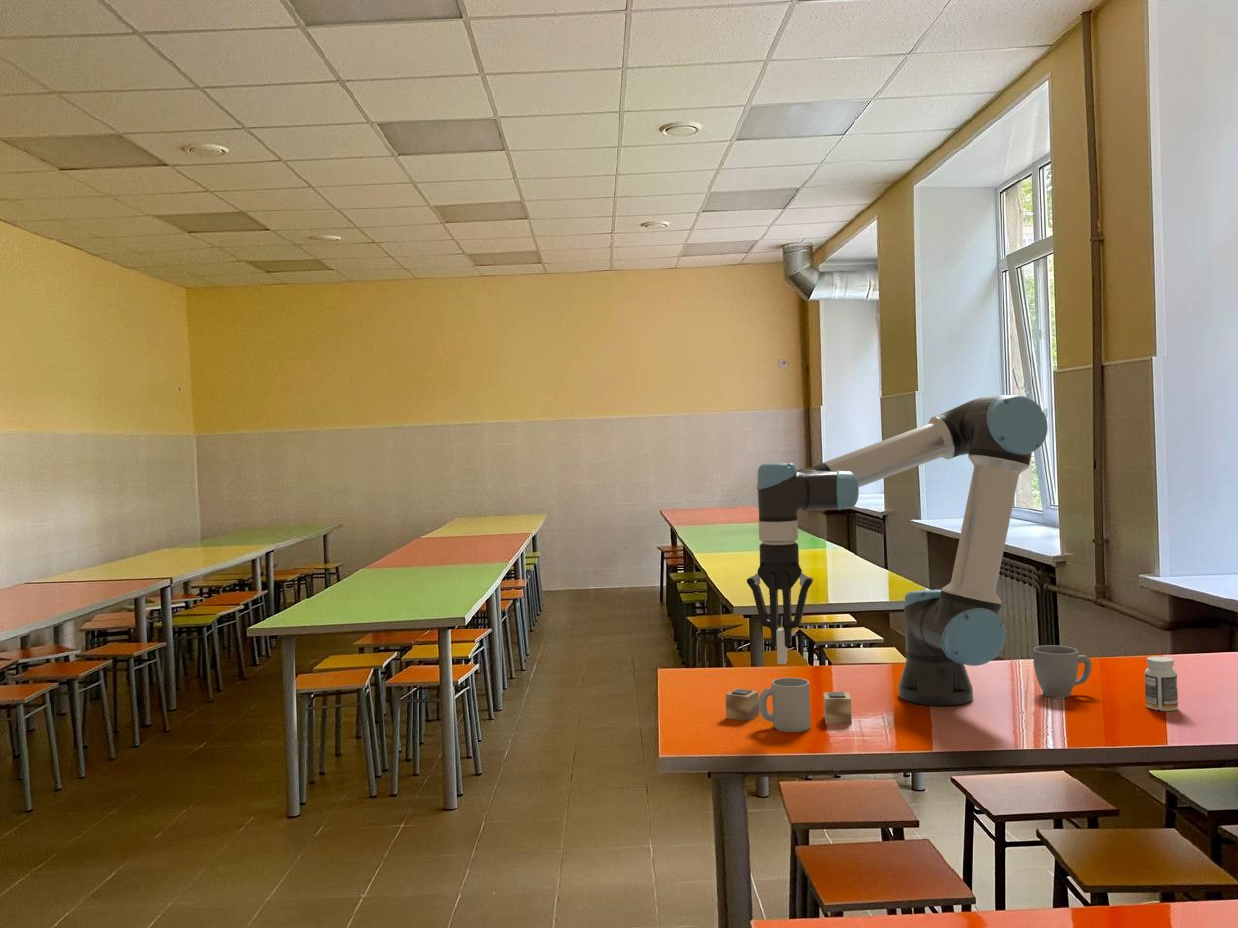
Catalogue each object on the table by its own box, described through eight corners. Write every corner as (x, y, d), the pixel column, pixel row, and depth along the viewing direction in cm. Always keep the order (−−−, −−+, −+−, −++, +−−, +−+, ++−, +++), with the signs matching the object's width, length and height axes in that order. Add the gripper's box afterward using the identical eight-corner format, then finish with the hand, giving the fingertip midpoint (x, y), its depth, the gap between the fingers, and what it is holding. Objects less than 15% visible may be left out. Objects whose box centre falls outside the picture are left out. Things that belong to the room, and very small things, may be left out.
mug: (1046, 701, 205) (1045, 655, 205) (1026, 690, 214) (1025, 646, 214) (1102, 698, 206) (1101, 652, 206) (1080, 687, 215) (1079, 643, 214)
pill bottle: (1176, 705, 198) (1175, 656, 198) (1179, 713, 193) (1178, 662, 193) (1144, 703, 201) (1143, 655, 201) (1146, 710, 196) (1145, 661, 195)
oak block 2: (849, 717, 199) (848, 691, 199) (851, 724, 194) (850, 697, 194) (824, 717, 200) (823, 691, 200) (825, 724, 195) (825, 697, 195)
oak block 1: (759, 715, 203) (758, 689, 203) (748, 721, 199) (747, 695, 199) (737, 712, 206) (736, 687, 205) (726, 718, 201) (725, 692, 201)
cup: (813, 732, 190) (811, 686, 189) (760, 733, 190) (759, 687, 190) (808, 722, 197) (806, 677, 197) (757, 722, 197) (756, 678, 197)
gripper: (814, 540, 194) (818, 659, 195) (749, 540, 198) (752, 657, 199) (810, 544, 187) (813, 668, 188) (741, 544, 191) (745, 665, 192)
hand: (782, 662), depth 193 cm, fingers closed
